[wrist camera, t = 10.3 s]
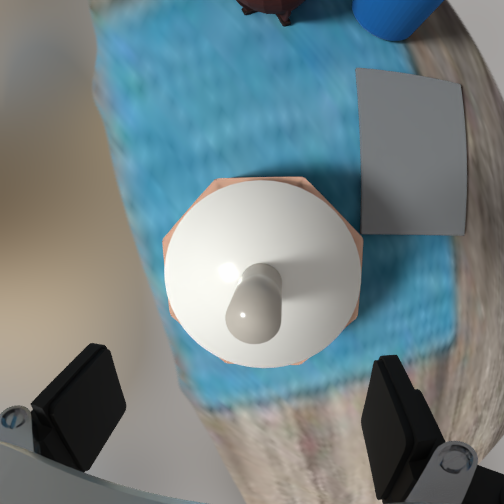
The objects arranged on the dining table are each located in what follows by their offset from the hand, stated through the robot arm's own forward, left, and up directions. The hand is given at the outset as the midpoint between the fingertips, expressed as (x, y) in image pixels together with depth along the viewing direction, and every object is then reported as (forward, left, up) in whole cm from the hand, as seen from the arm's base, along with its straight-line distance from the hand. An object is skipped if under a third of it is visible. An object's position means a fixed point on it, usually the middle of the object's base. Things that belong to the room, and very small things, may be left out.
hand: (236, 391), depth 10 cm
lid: (+1, 0, -14) cm, 14 cm away
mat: (-9, +14, -19) cm, 25 cm away
